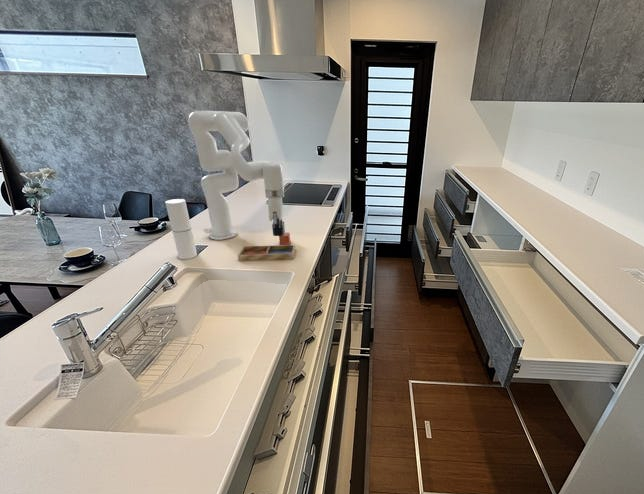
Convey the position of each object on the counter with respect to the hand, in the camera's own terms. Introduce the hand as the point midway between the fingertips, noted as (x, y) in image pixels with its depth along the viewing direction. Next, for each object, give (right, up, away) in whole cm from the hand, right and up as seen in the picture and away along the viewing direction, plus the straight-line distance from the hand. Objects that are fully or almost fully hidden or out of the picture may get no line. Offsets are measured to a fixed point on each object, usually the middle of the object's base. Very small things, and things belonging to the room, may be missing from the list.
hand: (279, 233), depth 134 cm
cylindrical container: (-41, -10, +1) cm, 42 cm away
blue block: (0, 0, 0) cm, 0 cm away
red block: (-2, -5, +16) cm, 17 cm away
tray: (-6, -10, +3) cm, 12 cm away
